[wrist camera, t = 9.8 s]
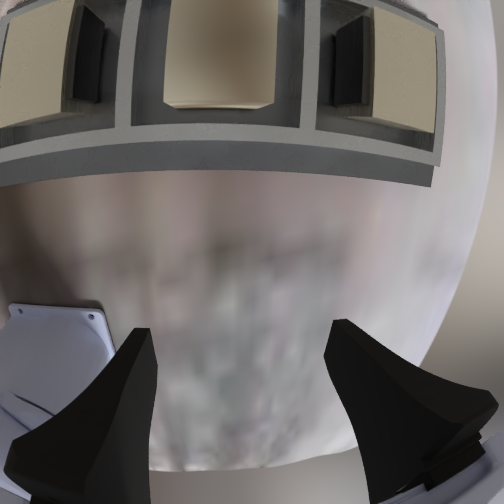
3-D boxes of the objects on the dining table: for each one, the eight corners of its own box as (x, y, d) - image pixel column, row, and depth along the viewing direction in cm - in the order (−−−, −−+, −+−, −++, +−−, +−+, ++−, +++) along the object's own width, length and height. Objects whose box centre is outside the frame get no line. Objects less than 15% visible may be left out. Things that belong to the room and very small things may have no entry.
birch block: (177, 109, 13) (163, 101, 9) (184, 11, 11) (176, -31, 7) (253, 110, 14) (273, 102, 10) (258, 13, 12) (279, -27, 7)
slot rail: (3, 184, 14) (-42, 205, 9) (14, 13, 8) (-24, -2, 4) (422, 184, 18) (469, 203, 14) (429, 26, 13) (474, 16, 9)
